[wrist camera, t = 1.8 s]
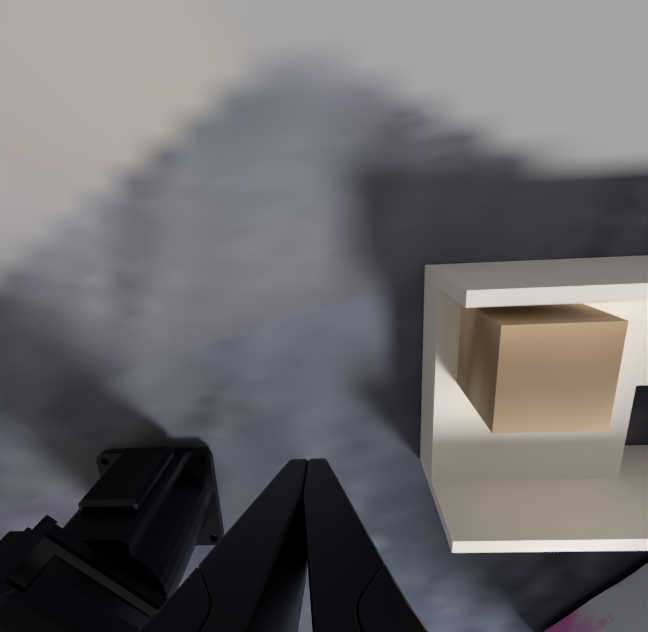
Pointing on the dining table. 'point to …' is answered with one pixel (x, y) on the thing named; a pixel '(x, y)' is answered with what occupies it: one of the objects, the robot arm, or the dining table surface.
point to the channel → (536, 447)
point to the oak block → (541, 366)
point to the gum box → (612, 609)
